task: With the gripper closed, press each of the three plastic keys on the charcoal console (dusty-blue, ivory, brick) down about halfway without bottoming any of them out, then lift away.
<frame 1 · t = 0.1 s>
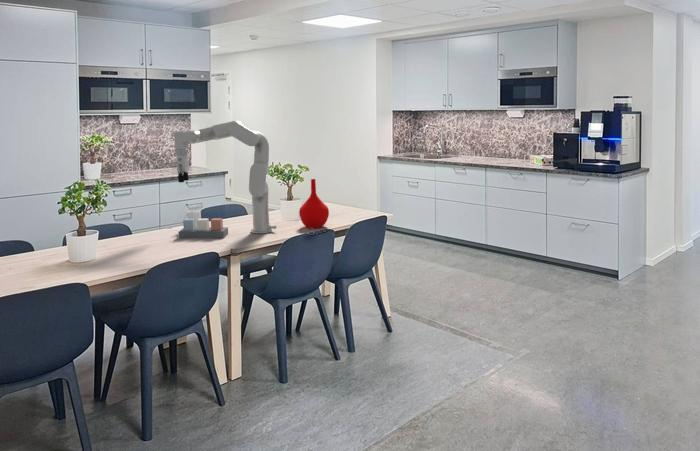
hand: (183, 181, 361), 31 cm above the table, fingers open, 9 cm apart
console: (203, 236, 356), on the table
key blue: (189, 224, 355), point 7 cm above the table, slide at 0.0 cm
key ivory: (203, 224, 354), point 7 cm above the table, slide at 0.0 cm
key brick: (216, 224, 354), point 7 cm above the table, slide at 0.0 cm
vase: (314, 227, 379), on the table
mug: (192, 231, 372), on the table
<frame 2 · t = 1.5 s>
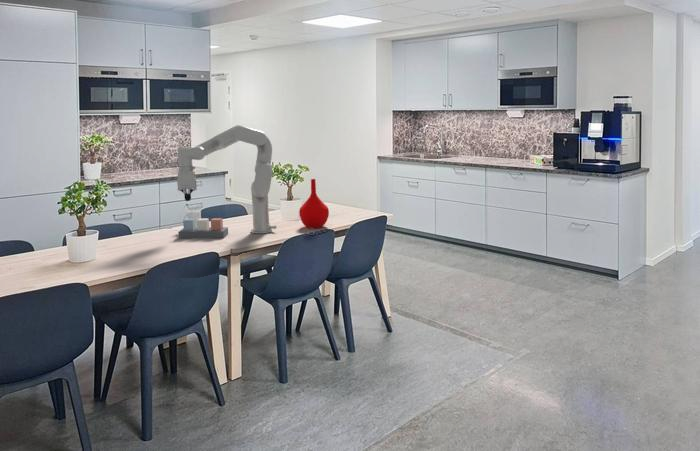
hand: (187, 200, 352), 21 cm above the table, fingers closed
nothing on the table moved.
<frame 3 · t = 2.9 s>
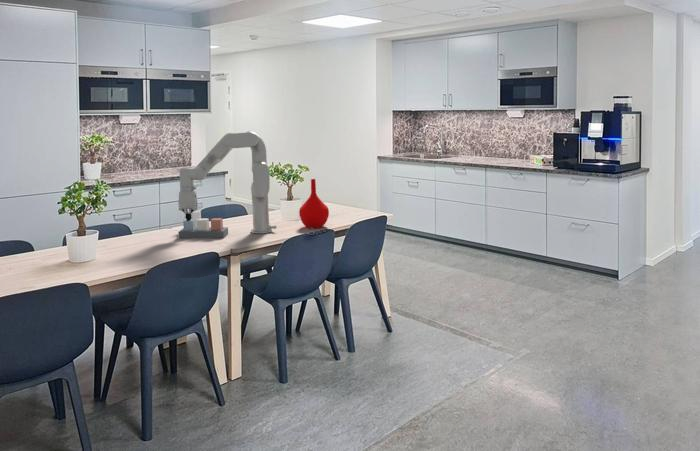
hand: (188, 220, 354), 9 cm above the table, fingers closed
key blue: (189, 225, 355), point 6 cm above the table, slide at 0.6 cm, touching gripper
everything else where it was.
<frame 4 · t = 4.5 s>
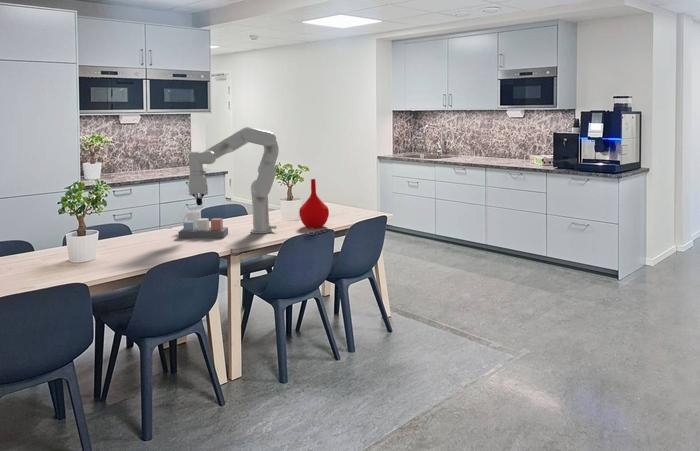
hand: (199, 205, 352), 18 cm above the table, fingers closed
key blue: (189, 227, 355), point 5 cm above the table, slide at 1.3 cm
everything else where it was.
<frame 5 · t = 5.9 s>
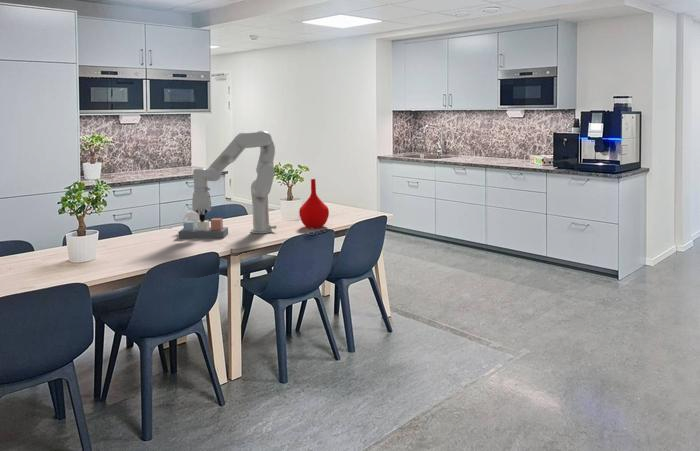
hand: (202, 221, 354), 9 cm above the table, fingers closed
key ivory: (203, 226, 355), point 6 cm above the table, slide at 1.2 cm, touching gripper
everything else where it was.
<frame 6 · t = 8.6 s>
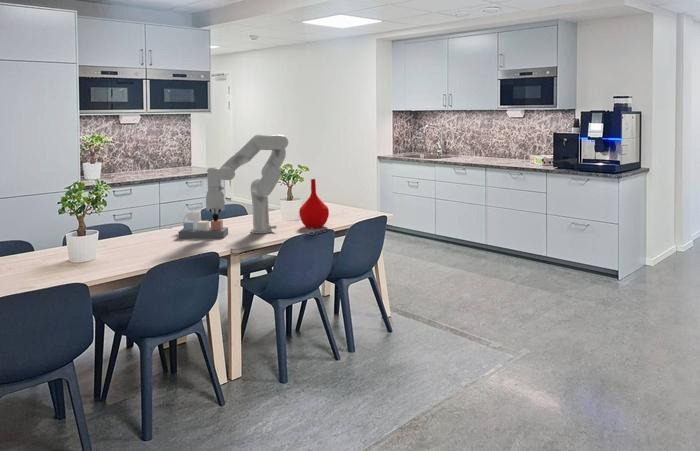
hand: (215, 220, 354), 9 cm above the table, fingers closed
key ivory: (203, 227, 355), point 5 cm above the table, slide at 1.3 cm
key brick: (216, 225, 354), point 6 cm above the table, slide at 0.8 cm, touching gripper
everything else where it was.
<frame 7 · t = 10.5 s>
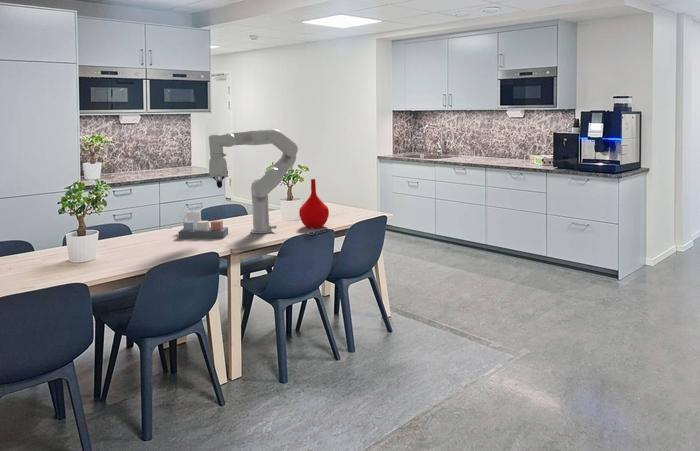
hand: (219, 187, 356), 28 cm above the table, fingers closed
key brick: (217, 226, 354), point 5 cm above the table, slide at 1.3 cm
everything else where it was.
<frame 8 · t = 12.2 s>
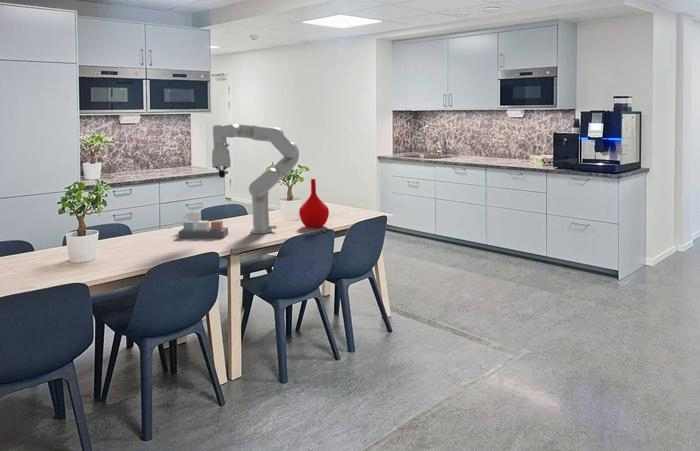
hand: (222, 177, 360), 33 cm above the table, fingers closed
nothing on the table moved.
at the end: key blue slide at 1.3 cm; key ivory slide at 1.3 cm; key brick slide at 1.3 cm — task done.
